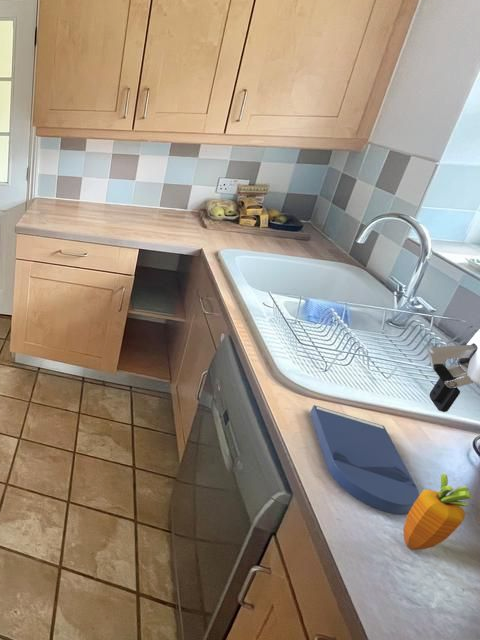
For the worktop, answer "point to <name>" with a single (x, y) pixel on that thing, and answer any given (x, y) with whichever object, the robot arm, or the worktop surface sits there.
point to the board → (364, 461)
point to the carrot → (434, 516)
